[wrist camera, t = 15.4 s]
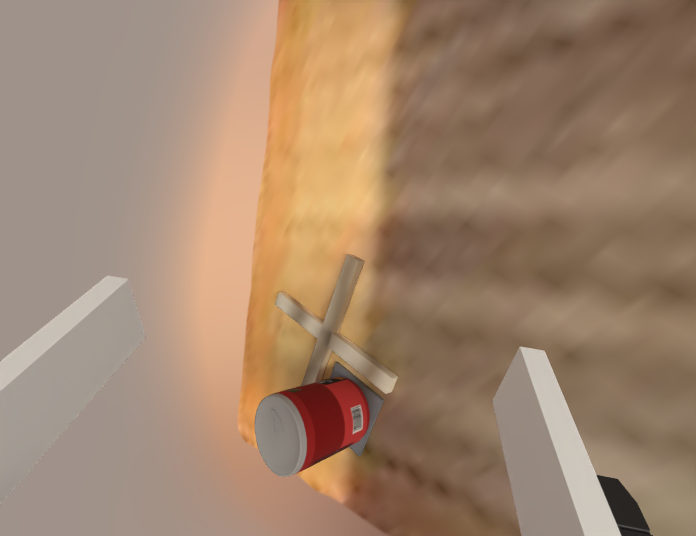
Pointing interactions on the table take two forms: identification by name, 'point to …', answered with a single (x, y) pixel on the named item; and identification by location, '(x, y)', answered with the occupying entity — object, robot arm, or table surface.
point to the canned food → (310, 424)
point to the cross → (340, 343)
